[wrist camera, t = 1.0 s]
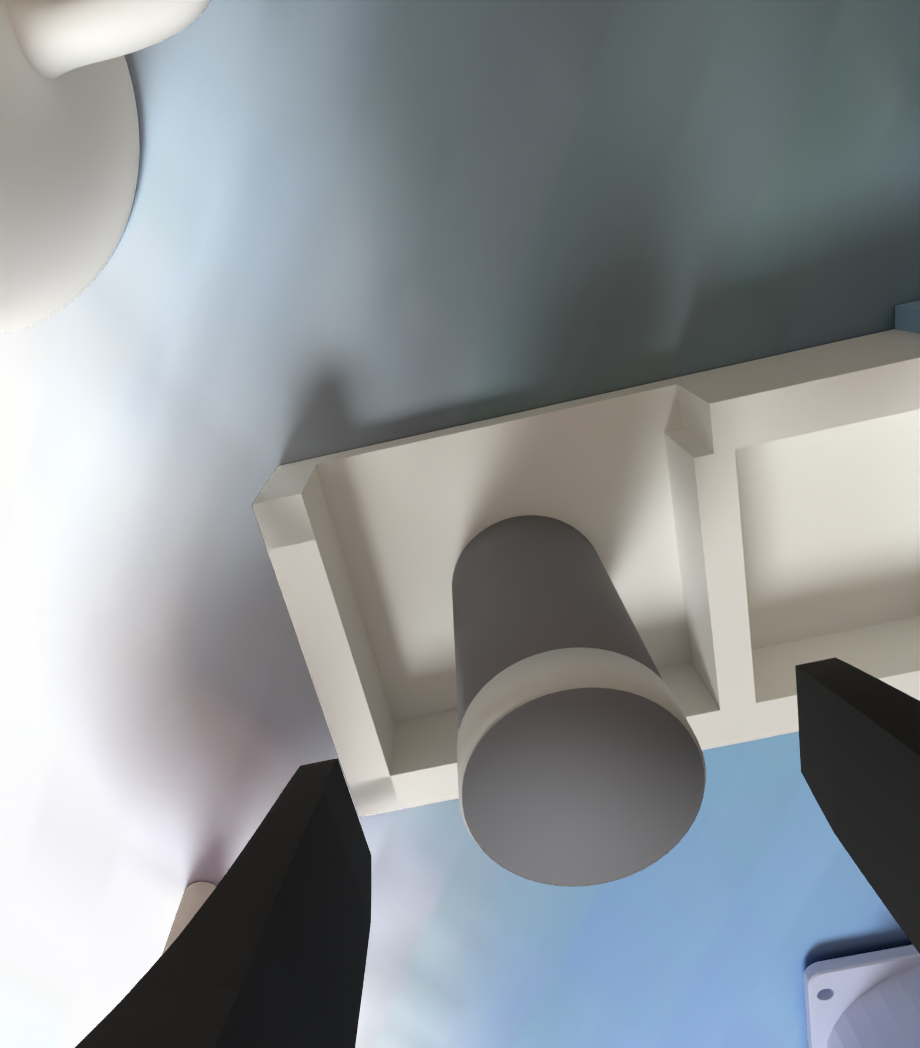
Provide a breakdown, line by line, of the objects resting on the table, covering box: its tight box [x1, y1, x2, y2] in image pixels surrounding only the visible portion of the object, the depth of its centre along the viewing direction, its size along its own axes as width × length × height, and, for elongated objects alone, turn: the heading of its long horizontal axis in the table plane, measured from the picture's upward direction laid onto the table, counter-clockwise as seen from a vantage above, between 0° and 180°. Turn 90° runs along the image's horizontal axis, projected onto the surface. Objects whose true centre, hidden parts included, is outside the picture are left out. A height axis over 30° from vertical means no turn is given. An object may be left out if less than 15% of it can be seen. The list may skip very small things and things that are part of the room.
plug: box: [452, 515, 706, 887], centre depth 14 cm, size 4×4×7 cm
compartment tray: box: [251, 300, 920, 818], centre depth 16 cm, size 8×24×4 cm, turn 102°
